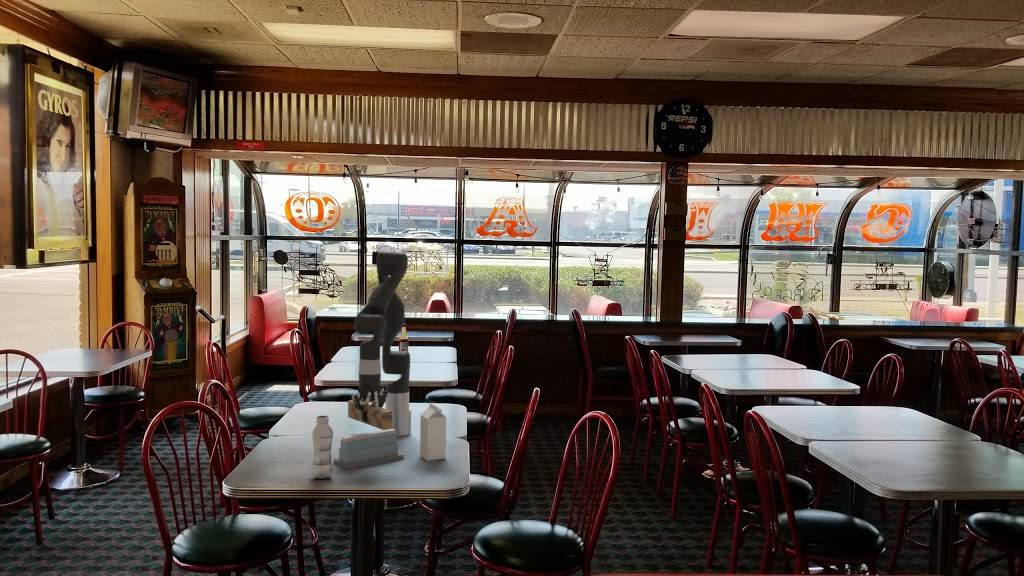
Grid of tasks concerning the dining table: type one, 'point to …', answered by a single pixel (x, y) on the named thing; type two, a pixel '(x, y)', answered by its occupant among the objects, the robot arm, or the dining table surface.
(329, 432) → the plastic bottle
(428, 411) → the milk carton
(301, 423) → the dining table surface
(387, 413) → the walnut plank
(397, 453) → the fulcrum ridge
